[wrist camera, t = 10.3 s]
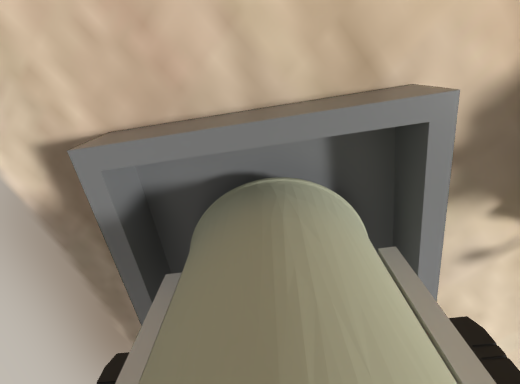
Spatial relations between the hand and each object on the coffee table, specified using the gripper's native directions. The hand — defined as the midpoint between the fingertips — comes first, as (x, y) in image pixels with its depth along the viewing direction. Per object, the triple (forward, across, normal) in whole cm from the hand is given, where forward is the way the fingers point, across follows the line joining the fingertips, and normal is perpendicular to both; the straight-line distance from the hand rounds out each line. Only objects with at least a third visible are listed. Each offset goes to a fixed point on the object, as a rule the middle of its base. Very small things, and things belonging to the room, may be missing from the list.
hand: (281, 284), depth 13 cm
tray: (+4, 0, 0) cm, 4 cm away
